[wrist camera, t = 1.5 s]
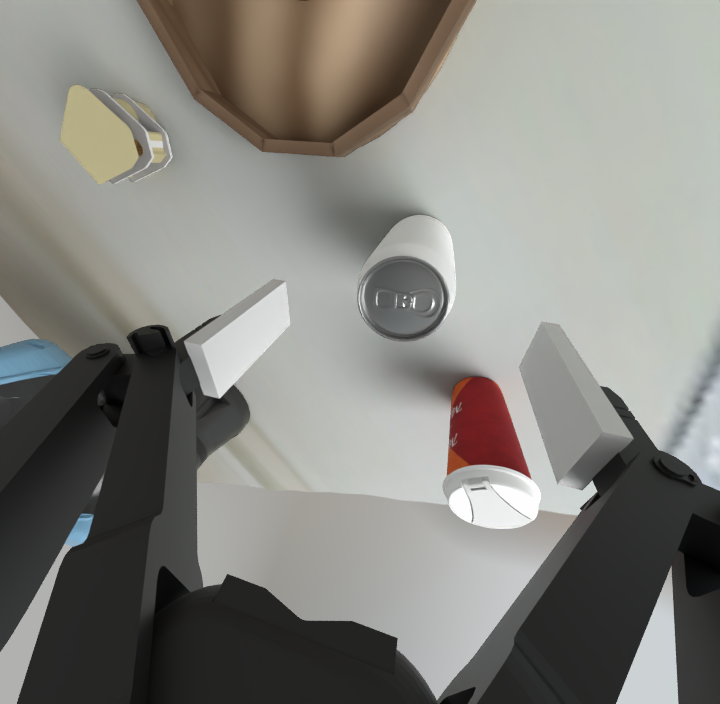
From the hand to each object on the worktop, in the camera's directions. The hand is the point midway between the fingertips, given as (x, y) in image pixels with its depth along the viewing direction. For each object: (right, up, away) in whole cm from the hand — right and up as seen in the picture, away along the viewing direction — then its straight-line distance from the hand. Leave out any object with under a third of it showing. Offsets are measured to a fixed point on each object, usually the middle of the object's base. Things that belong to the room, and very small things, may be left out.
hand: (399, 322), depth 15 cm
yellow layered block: (-22, +19, +13) cm, 32 cm away
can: (+3, +8, +12) cm, 15 cm away
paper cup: (+12, -7, +19) cm, 24 cm away
